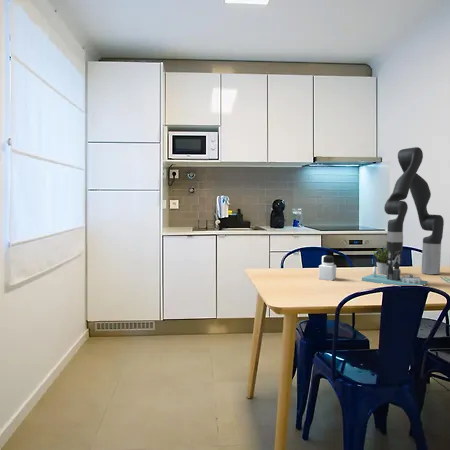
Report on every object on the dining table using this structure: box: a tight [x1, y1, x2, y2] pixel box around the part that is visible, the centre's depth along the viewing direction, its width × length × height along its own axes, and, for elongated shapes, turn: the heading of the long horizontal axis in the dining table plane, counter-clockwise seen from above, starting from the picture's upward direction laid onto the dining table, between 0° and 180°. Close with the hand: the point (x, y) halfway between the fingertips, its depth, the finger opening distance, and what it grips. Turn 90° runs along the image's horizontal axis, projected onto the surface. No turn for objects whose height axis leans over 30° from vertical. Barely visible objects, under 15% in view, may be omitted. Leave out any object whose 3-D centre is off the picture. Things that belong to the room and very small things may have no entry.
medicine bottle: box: [318, 254, 337, 281], centre depth 210 cm, size 7×7×12 cm
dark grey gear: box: [386, 268, 401, 281], centre depth 203 cm, size 6×6×5 cm
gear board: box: [361, 266, 429, 286], centre depth 203 cm, size 15×27×7 cm, turn 48°
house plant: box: [371, 245, 390, 275], centre depth 227 cm, size 14×14×16 cm
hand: (393, 272), depth 203 cm, fingers open, 8 cm apart
